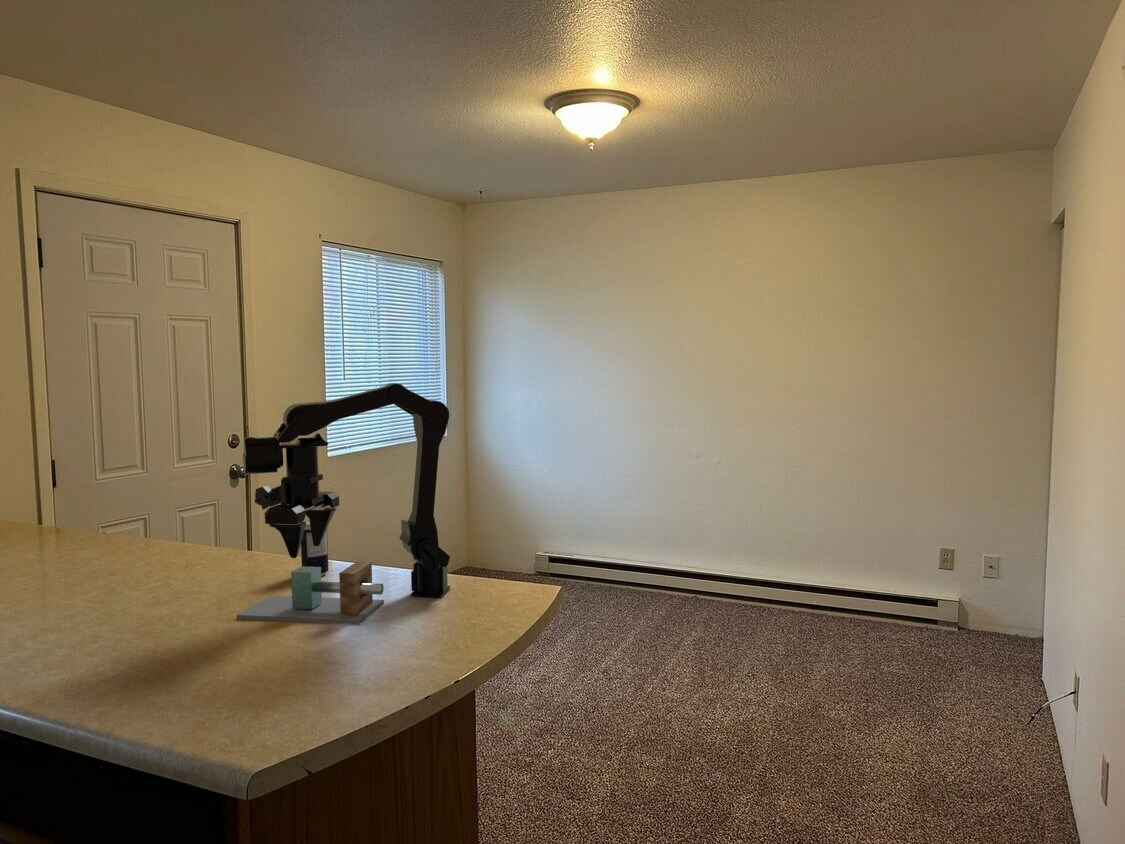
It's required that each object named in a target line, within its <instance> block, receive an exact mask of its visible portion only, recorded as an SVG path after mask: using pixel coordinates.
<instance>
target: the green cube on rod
mask: <svg viewBox="0 0 1125 844" xmlns="http://www.w3.org/2000/svg"><path fill="white" fill-rule="evenodd" d="M290 579H291V580H290V581H291V596H292V608H297V609H313V608H315V607H316V606H318V605H319V604H320V603H322V593H327V594H329V593H330V594H340V581H339V582H338V581H322V576H321V567H303V566H302V565H300V566H299V567H298V568H295V569H294V570H292V571H291V573H290ZM384 586H385V585H384V584H383V583H375V582H374V583H373V582H372V583H360V594H372V595H380V596H381V595H383V594H384V588H385V587H384Z"/></svg>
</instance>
